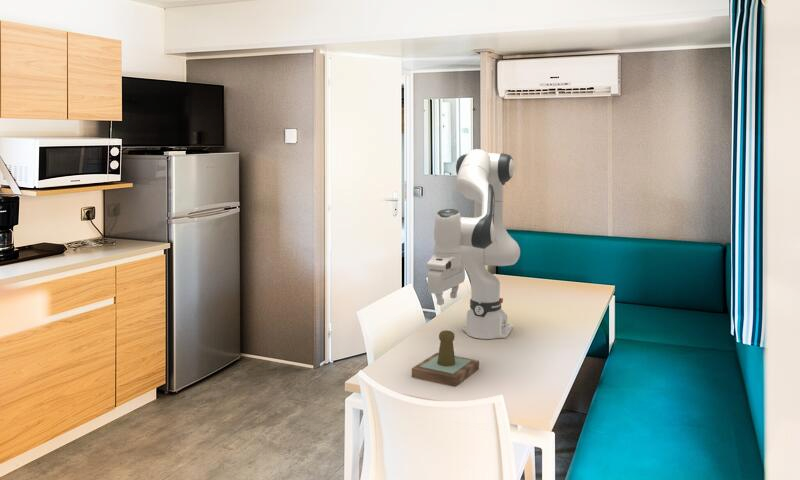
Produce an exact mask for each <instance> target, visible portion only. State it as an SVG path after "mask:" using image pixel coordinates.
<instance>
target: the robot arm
mask: <svg viewBox="0 0 800 480" xmlns="http://www.w3.org/2000/svg"><path fill="white" fill-rule="evenodd" d="M455 170H456V171H455V172H456V180H455V185H456V188H457V190H458V191H459V193H460V194H461V195H462V196H463V197H465V198H466V199H468V200H471V201H474V209H473V217H466V216H461V213H460V211H459V210H457V209H454V208H445V209H441V210H439V211H437V212H436V214H435V220H434V226H433V227H434V229H433V230H434V231H433V238H434V248H433V254H432V256H431V258H430V259H429V260H428V261H427V264H426V269H428V272H427V290H428V292H429V293H430V294H434V296H435V298H436V304H437V305H438V306H442V305H444V304H445V299H444V298H443V295H444V292H445V291H448V290H450V289H451V292H450V293H449V296H450V297H449V298H451V299H457V297H458V290H459V287H460V285H461V284H463V283H464V282H465V279H466V272H467V273H468V275H469V281H470V287H471V288H470V289H471V290H470V291H471V293H470V294H471V295H470V296H471V298H470V299H469V308H470V309H468V310H467V312H466V320H465V327H462V332H465V334H466V335H467V336H469V337H471V338H474V339H475V338H476V339H481V340H491V339H504V338H505V339H507V338H508V337H509V335H510V333H511V332H512V330H513V328H514V326H513V324H509V323H508V314H507V313H506V312H505V311H504V310H503V309H502V303H503V302H504V298H503V297H500V294H501V291H500V290H501V287H500V286H501V283H500V280H499V278H498V277H497V276H496V275H494V273H491V272H489V271H488V270H487V269H486V266H495V267H506V266H507V267H508V266H512V265H515V264H516V263H518V260H519V259H520V256H521V248H520V246H519V244H518V242H517V241H516V240H515V239H514V238H513V237H512V236H511V235H510V234H509V233H508V231H507V229H506V226H505V222H504V186H505V185H506V183H507V182H510V180H511V179H512V178H513V176H514V172H515V163H514V159H513V157H512V156H511V155H510V154H508V153H504V152H503V153H502V152H501V153H495V152H486V151H485V150H483V149H480V148H475V149H472V150H470V151H469V152H467V153H464V154H462V155H461V156H459V157H458V158H457V160H456V164H455ZM465 271H466V272H465Z"/></svg>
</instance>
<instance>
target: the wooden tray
mask: <svg viewBox="0 0 800 480" xmlns="http://www.w3.org/2000/svg"><path fill="white" fill-rule="evenodd" d="M438 355H439V352H436V353H433V354H432V355H431V356H429V357H427V358H426V359H424V360H422V361H421V362H419V363H418V364H416V365H414V366H413V367H411V378H415V379H420V380H423V381H429V382H433V383H438V384H441V385H442V384H443V385H447V386H452V387H458V386H459V385H460V384H461V383H463V382H464V381H466V380H467V379H468V378H470V376H472V375H473V374H474V373H476V372H477V371H478V370H479V369H480V360H477V359H473V358H468V357H463V356H462V357H461V356H457V355H454V356H455V365H453V366H441V365H438V364H437V362H438Z"/></svg>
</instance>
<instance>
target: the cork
mask: <svg viewBox="0 0 800 480" xmlns="http://www.w3.org/2000/svg"><path fill="white" fill-rule="evenodd" d="M438 338H439V341H440V342H439V349H438V353H439V355H438V362H437V364H438V365H441V366H453V365H455V356H456V355H455V349H454V341H455V333H454V332H453V331H451V330H445V329H444V330H441V331H440V332H439V335H438Z"/></svg>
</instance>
